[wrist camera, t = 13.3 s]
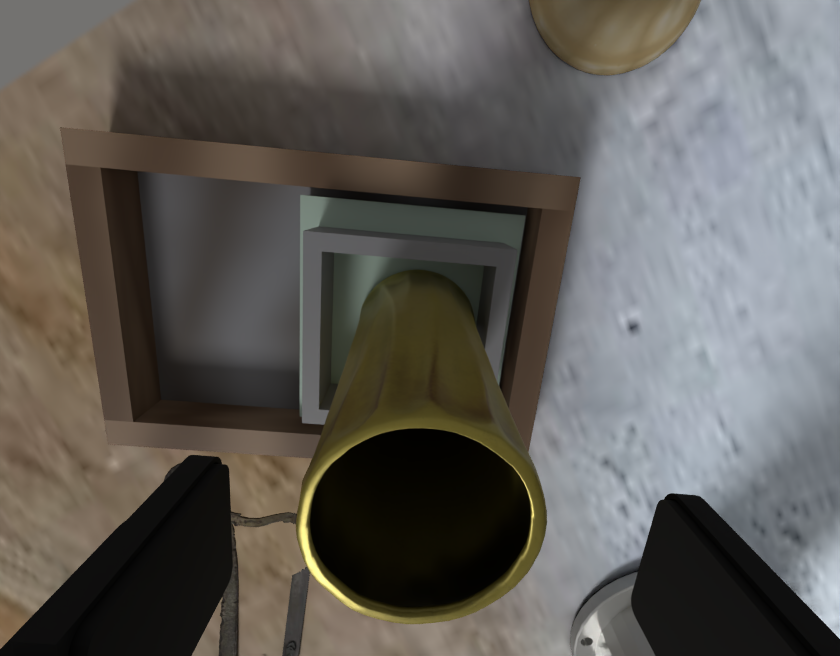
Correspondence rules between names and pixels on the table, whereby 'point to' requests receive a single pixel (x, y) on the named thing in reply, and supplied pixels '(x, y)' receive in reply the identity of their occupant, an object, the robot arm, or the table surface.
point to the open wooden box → (260, 278)
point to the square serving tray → (387, 255)
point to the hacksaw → (231, 593)
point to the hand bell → (611, 31)
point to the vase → (419, 466)
